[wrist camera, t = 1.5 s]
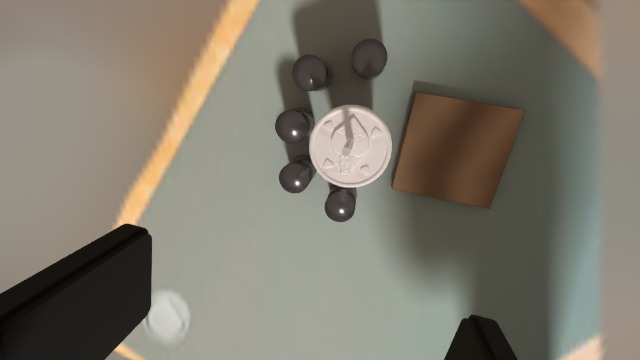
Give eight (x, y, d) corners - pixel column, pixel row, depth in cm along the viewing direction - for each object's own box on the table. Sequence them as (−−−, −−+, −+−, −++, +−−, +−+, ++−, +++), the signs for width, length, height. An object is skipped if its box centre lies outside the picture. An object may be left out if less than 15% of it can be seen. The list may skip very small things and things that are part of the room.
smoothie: (391, 105, 30) (408, 115, 17) (380, 166, 32) (387, 217, 19) (329, 97, 31) (299, 101, 18) (322, 157, 33) (290, 200, 20)
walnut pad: (520, 109, 29) (525, 110, 28) (486, 205, 32) (489, 208, 31) (415, 92, 30) (416, 92, 29) (391, 186, 33) (392, 188, 32)
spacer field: (387, 49, 29) (390, 41, 25) (353, 208, 34) (351, 224, 30) (298, 35, 30) (286, 25, 26) (278, 192, 35) (265, 206, 31)
